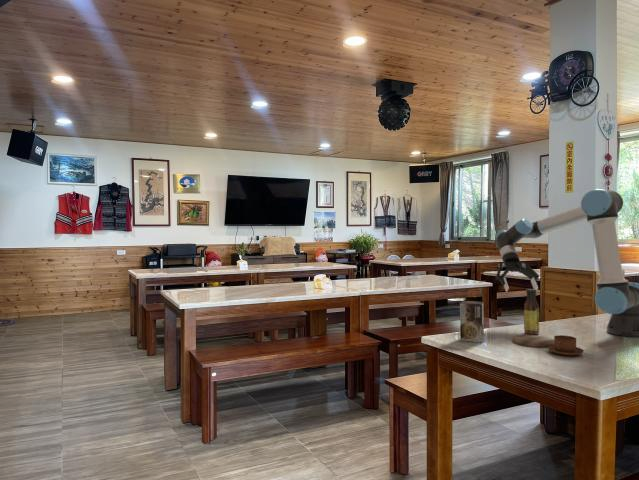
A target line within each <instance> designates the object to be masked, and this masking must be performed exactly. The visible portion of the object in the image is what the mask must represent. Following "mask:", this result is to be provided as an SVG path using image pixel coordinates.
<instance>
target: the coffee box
mask: <svg viewBox="0 0 639 480" xmlns="http://www.w3.org/2000/svg"><path fill="white" fill-rule="evenodd" d="M484 311H485V310H484V301H469V300H468V301H467V300H466V301H465V300H462V301H461V302H459V323H460V324H459V325H460V326H459V331H460V332H459V334H460V335H459V336H460V337H459V341H460V342H467V341H473V342H472V343H480V342H481V343H484V341H485V338H484V337H485V336H484V335H485V333H484V332H485V331H484V330H485V327H484V324H485V323H484V322H485V321H484V319H485V317H484V315H485V313H484Z"/></svg>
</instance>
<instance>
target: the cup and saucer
mask: <svg viewBox="0 0 639 480" xmlns="http://www.w3.org/2000/svg"><path fill="white" fill-rule="evenodd" d="M553 337H554V338H553V339H554V345H550V346H548V347H547V350H548V351H549V352H550V353H553V354H556V355H561V356H567V357H568V356H569V357H570V356H571V357H572V356H573V357H575V356H579V355H582V354H583V353H584V349H583V348H580V347H577V337H575V336H572V335H571V336H570V335H554V336H553Z"/></svg>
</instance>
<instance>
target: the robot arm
mask: <svg viewBox="0 0 639 480" xmlns="http://www.w3.org/2000/svg"><path fill="white" fill-rule="evenodd" d="M623 206H624V200H623V197H622V196H621V195H620V193H619V192H616V191H615V190H609V189H608V190H607V189H605V188H595V189H591V190H589V191H587V192H586V193H585V194H584V196H582V198H581V201H580V205H579V206H576V207H574V208H571V209H568V210H565V211H562V212H559V213H557V214H553V215H551V216H547V217H545V218H542V219H539V220H537V221H534V222H530V221H529V220H528V219H526V218H521V219H520V220H518V221H516V222H515V224H513V225H512V226H511V227H510V228H508V229H507V230H506V229H504V230H500V231H498V232H496V234H495V236H494V239H495V243H496V245H497V249H498V251H499V254H500V256H501V260H502V261H499V263H498V264H497V268H498V269H497V272H496V275H495V280H497V281H499V282H500V283H501V286H503V288H504V290H505V292H508V291H509V289H510V287H509V285H508V281H507V277H506V276H507V274H509V272H511V273H514V272H515V273H520V274H522V275H524V276H525V277H527V278H528V279H529V280H530V283H531V286H532V289H536V293H537V291H538V289H539V286H538V279H539V277H540V275H539V274H538V273H537V272H536V270H535V269H534V268H532V267H531V266H530V265H529V264H528V262H527V261H525V262H524V263H522V262H521V261H520V257H519V255H518V252H517V250H516V247H515V244H517V243H518V242H519V241H521V240H522V239H538V238H541V237H542V236H543V235H547V234H549V233H553V232H555V231H558V230H562V229H565V228H567V227H570V226H575V225H578V224H580V223H583V222H587V223H589V224H590V225H591V226H592V233H593V234H592V235H593V240H594V247H595V253H596V259H597V267H598V274H599V275H598V276H599V280H598V281H597V282H596V287H597V290H596V293H595V295H594V302H595V305H596V306H597V308H598V309H599V310H600V311H602V312H603V313H606V314H609V315H610V318H609V320H608V323H607V326H606V332H607V333H608V334H611V335H616V336H622V337H634V338H636V337H637V338H639V283H638V282H629V280H628V279H626V278H624V275H623V267H622V262H621V255H620V254H621V253H620V249H619V248H620V247H619V242H618V234H617V229H616V223H615V222H616V221H617V220H618V219H619V215H618V214H619V212H620V211H621V210H623ZM503 268H505V270H504V271H503V272H502V269H503ZM501 272H502V274H501Z"/></svg>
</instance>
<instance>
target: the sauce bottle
mask: <svg viewBox="0 0 639 480" xmlns="http://www.w3.org/2000/svg"><path fill="white" fill-rule="evenodd" d="M536 294H537V292H536V289H534V288H526V300H525V302H524V304H523V306H524V307H523V330H524V333H525V334H526V335H539V334H540V307H539V304H538V301H537V295H536Z"/></svg>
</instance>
